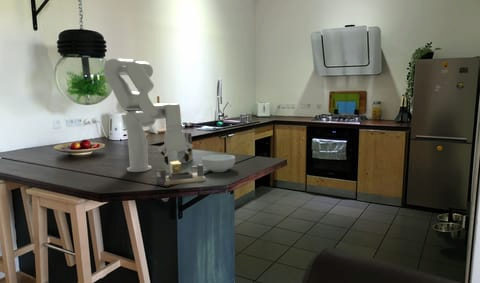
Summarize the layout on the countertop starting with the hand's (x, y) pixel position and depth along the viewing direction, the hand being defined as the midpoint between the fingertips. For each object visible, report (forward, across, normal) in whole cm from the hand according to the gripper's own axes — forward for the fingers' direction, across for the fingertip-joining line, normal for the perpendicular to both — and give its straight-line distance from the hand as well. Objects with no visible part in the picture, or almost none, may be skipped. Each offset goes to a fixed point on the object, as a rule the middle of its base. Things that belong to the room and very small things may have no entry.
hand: (177, 162), depth 180 cm
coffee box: (+5, -10, -30) cm, 32 cm away
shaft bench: (+6, +1, +11) cm, 13 cm away
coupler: (+6, +1, -1) cm, 6 cm away
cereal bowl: (+7, -21, +1) cm, 22 cm away
